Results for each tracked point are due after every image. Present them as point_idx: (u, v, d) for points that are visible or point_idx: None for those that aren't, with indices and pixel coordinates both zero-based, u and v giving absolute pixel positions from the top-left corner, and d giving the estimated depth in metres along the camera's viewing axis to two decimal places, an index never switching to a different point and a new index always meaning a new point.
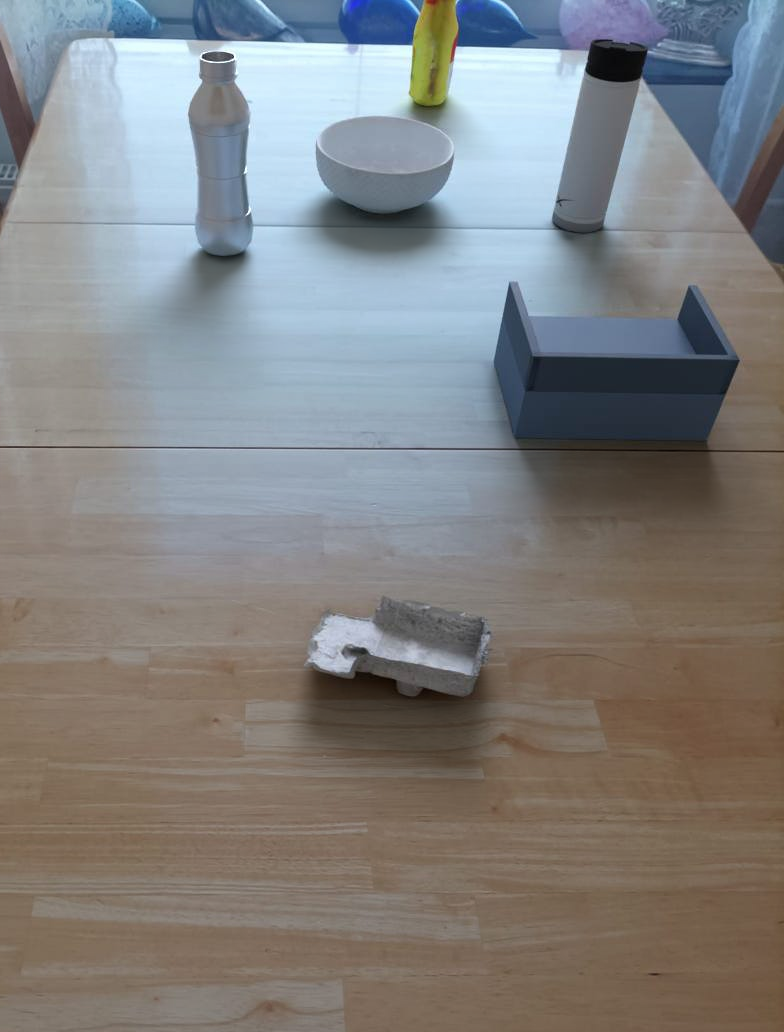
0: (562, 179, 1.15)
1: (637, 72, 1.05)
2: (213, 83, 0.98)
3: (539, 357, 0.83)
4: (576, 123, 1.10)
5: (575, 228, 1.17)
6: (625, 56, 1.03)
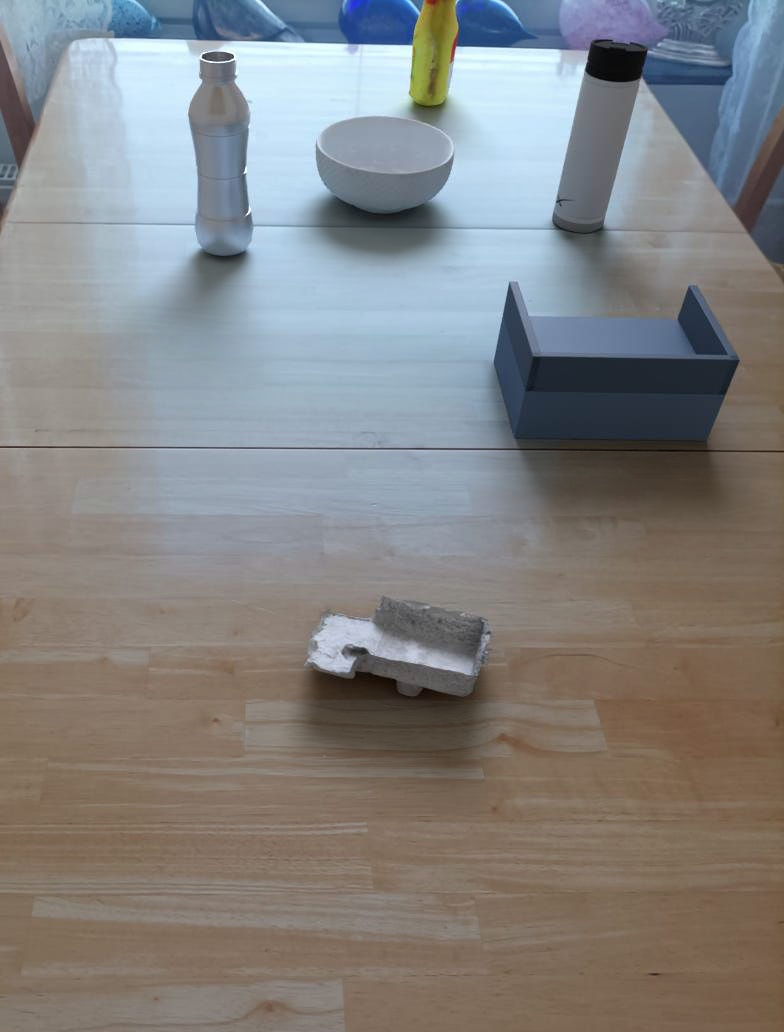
0: (562, 179, 1.15)
1: (637, 72, 1.05)
2: (213, 83, 0.98)
3: (539, 357, 0.83)
4: (576, 123, 1.10)
5: (575, 228, 1.17)
6: (625, 56, 1.03)
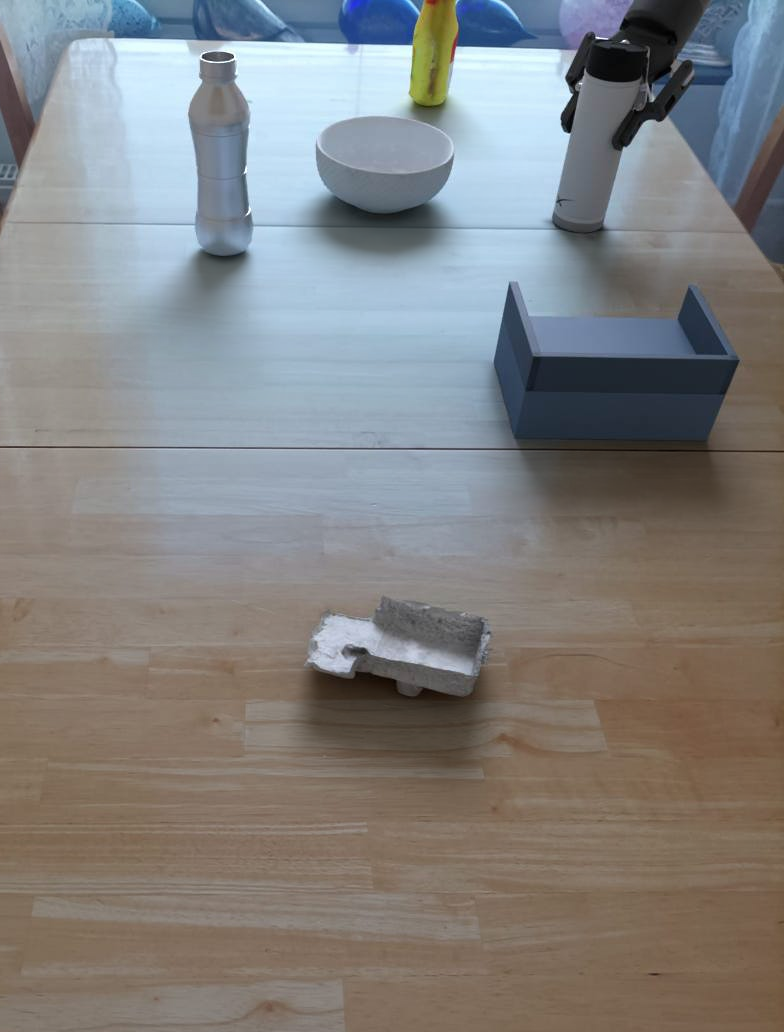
0: (562, 179, 1.15)
1: (637, 72, 1.05)
2: (213, 83, 0.98)
3: (539, 357, 0.83)
4: (576, 123, 1.10)
5: (575, 228, 1.17)
6: (625, 56, 1.03)
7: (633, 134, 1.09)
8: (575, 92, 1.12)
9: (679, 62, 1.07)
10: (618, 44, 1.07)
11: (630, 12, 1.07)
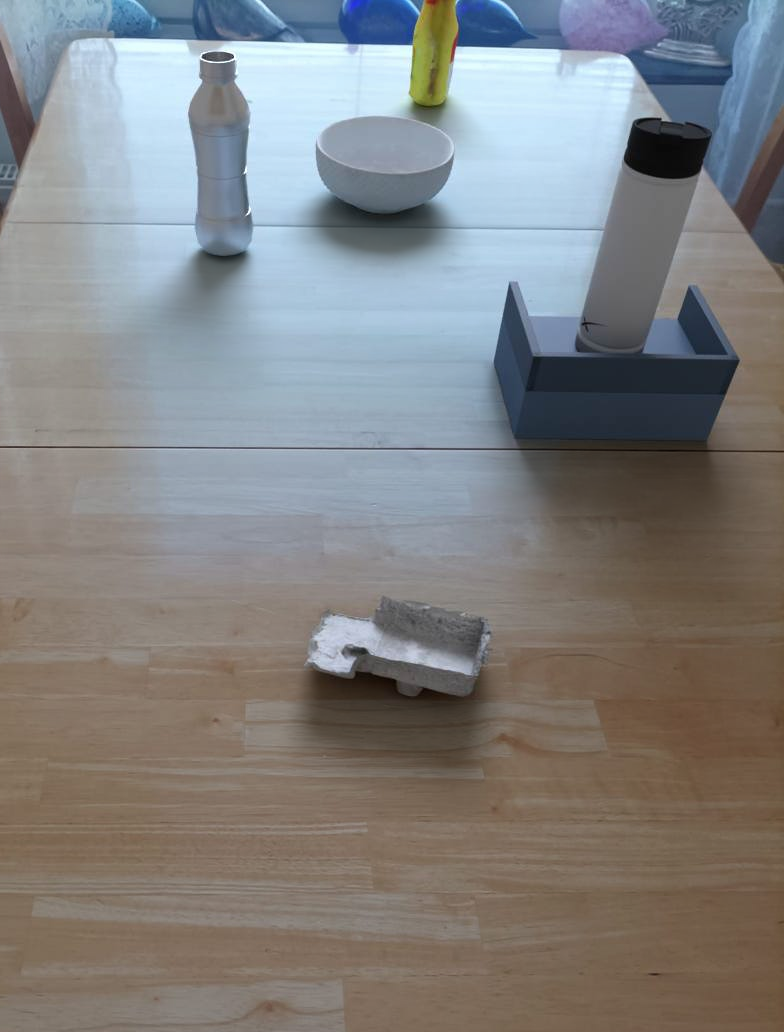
0: (590, 297, 0.86)
1: (696, 164, 0.76)
2: (213, 83, 0.98)
3: (539, 357, 0.83)
4: (609, 228, 0.82)
5: None
6: (681, 145, 0.74)
7: None
8: None
9: None
10: (668, 124, 0.78)
11: None
